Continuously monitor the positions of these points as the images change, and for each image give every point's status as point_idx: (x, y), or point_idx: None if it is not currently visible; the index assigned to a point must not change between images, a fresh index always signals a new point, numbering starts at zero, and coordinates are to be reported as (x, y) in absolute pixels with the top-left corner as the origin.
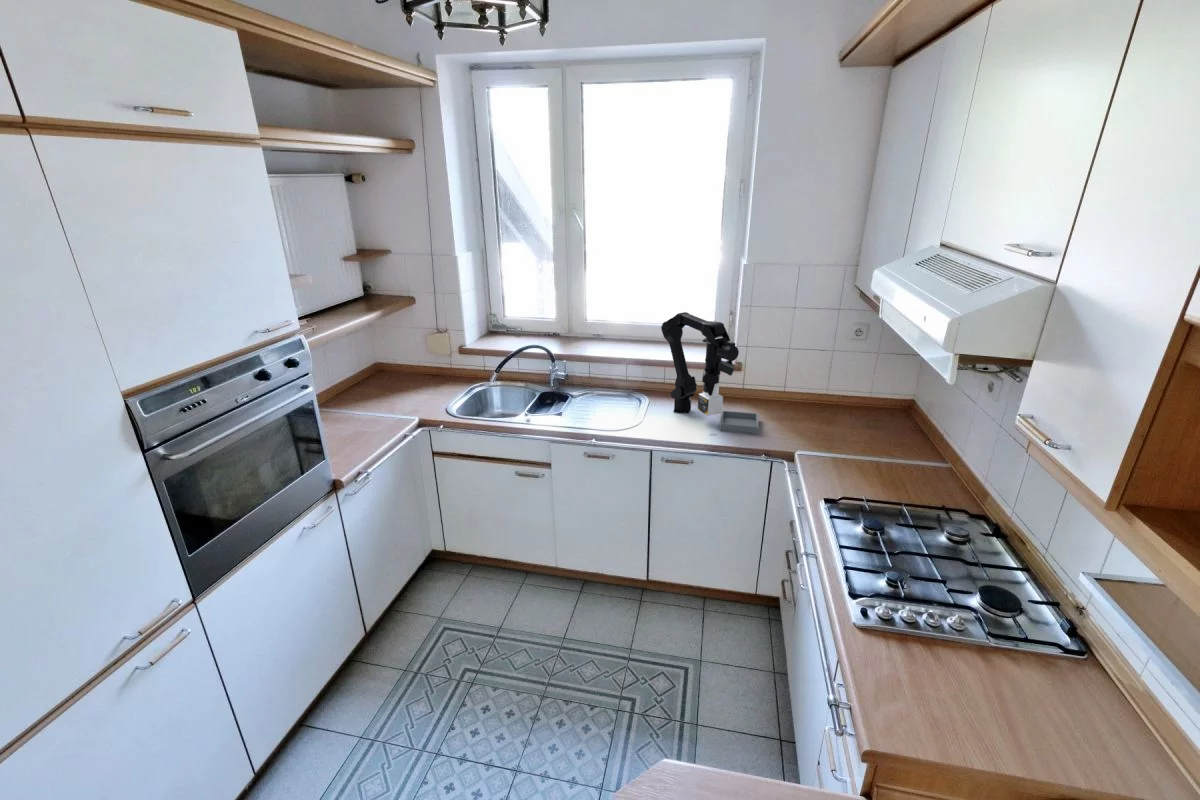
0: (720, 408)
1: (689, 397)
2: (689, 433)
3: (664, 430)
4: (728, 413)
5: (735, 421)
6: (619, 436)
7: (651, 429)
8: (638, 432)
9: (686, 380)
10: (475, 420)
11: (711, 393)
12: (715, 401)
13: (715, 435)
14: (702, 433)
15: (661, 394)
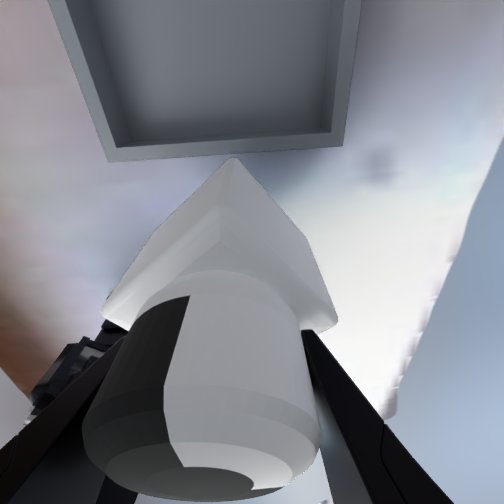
0: (246, 178)
1: (109, 345)
2: (366, 262)
3: (343, 329)
4: (109, 107)
5: (173, 39)
6: (389, 394)
7: (339, 355)
8: (363, 372)
9: (108, 496)
10: (329, 500)
11: (327, 354)
12: (288, 252)
13: (388, 154)
14: (364, 216)
15: (43, 375)
